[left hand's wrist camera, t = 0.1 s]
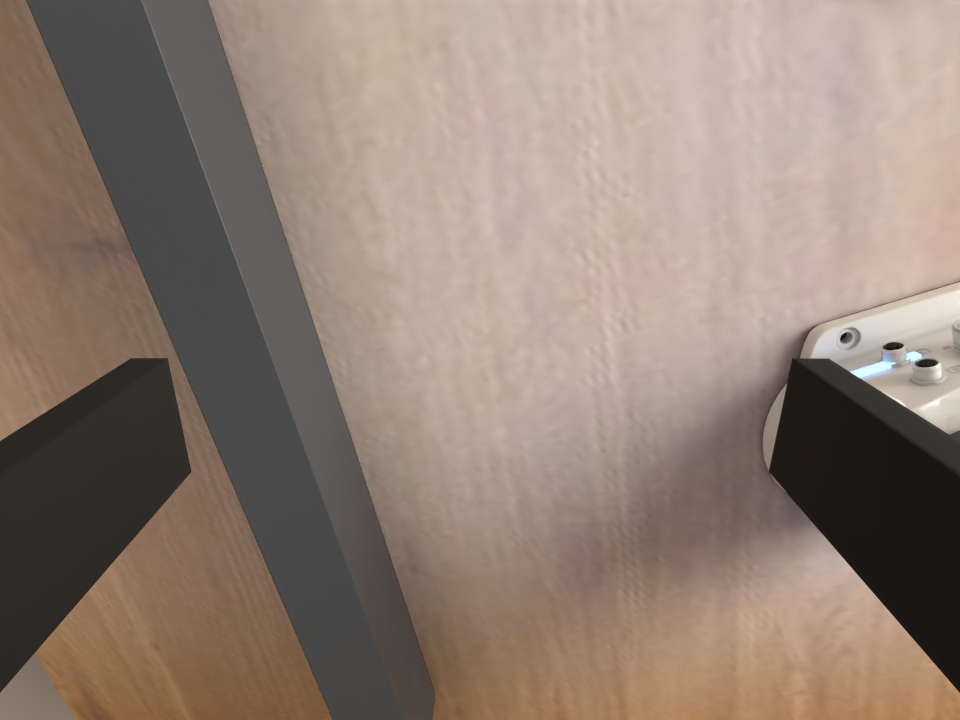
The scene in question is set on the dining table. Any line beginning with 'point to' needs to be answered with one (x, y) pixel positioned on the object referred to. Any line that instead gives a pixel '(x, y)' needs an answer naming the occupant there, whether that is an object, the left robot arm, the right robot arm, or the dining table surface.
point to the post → (241, 330)
